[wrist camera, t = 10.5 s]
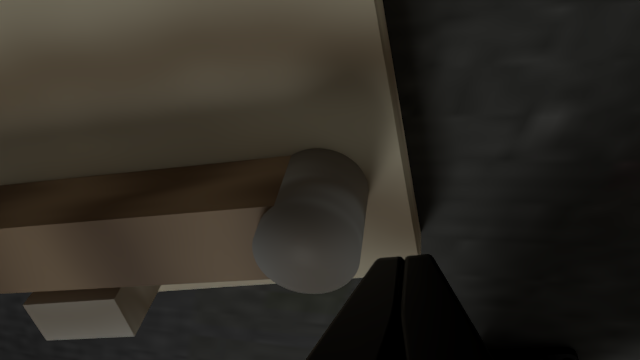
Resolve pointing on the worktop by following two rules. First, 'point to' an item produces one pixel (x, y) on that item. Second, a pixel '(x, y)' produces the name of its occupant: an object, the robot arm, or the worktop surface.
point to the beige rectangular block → (197, 111)
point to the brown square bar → (189, 226)
